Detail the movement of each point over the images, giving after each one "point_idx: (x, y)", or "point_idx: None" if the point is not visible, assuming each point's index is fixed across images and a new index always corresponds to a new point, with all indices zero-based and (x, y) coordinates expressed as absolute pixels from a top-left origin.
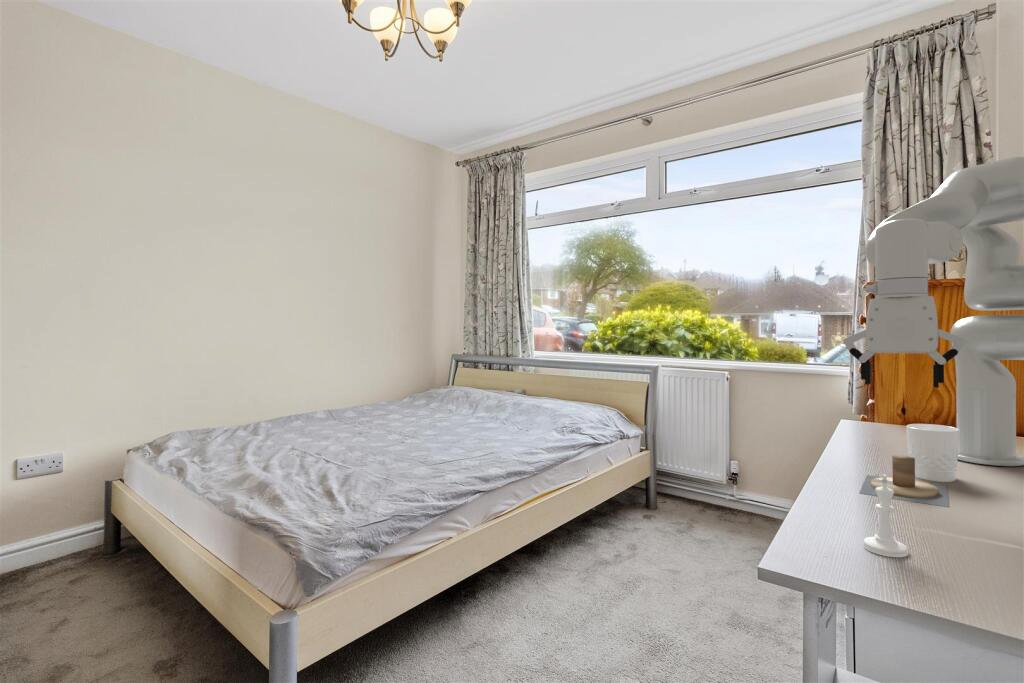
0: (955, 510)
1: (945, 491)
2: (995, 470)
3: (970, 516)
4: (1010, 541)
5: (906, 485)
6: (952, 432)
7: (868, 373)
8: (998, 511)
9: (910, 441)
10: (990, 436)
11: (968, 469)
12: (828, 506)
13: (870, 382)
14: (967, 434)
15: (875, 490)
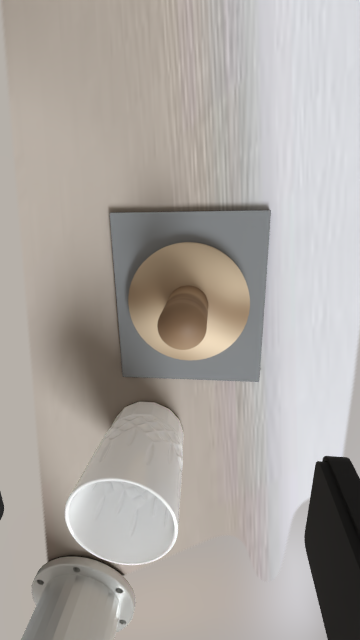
0: (101, 215)
1: (122, 331)
2: None
3: (77, 187)
4: (11, 48)
5: (181, 287)
6: (76, 487)
7: (355, 527)
8: (44, 258)
9: (172, 474)
10: (53, 623)
11: None
12: (335, 52)
13: (313, 498)
14: (89, 632)
15: (239, 256)
